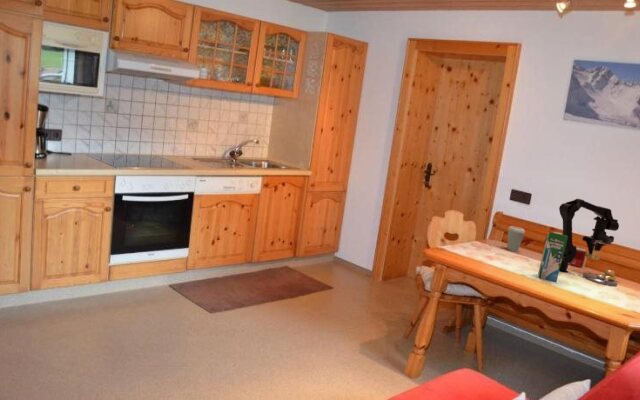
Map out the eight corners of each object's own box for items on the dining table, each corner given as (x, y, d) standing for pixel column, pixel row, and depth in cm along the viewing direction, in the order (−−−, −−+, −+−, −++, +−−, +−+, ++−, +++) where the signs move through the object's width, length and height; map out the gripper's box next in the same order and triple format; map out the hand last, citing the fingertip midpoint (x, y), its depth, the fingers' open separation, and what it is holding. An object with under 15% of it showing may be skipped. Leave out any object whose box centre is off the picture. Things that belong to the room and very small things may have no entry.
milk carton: (555, 278, 306) (566, 233, 302) (556, 282, 297) (568, 235, 294) (537, 274, 309) (548, 229, 305) (538, 277, 300) (549, 231, 297)
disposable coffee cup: (522, 253, 363) (528, 230, 361) (506, 250, 363) (511, 227, 361) (517, 249, 374) (522, 227, 371) (501, 246, 373) (506, 224, 371)
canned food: (583, 268, 351) (587, 251, 349) (569, 265, 352) (574, 248, 350) (580, 265, 358) (584, 249, 356) (567, 262, 359) (571, 246, 358)
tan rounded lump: (593, 259, 330) (595, 251, 329) (582, 255, 336) (584, 247, 336) (601, 260, 334) (603, 251, 333) (590, 256, 340) (592, 248, 339)
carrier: (603, 285, 310) (606, 274, 309) (575, 275, 326) (578, 264, 325) (625, 286, 319) (628, 275, 319) (597, 276, 335) (600, 265, 334)
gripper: (602, 231, 321) (595, 257, 323) (622, 233, 330) (615, 259, 332) (585, 226, 331) (578, 252, 333) (605, 228, 340) (598, 253, 342)
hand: (593, 254), depth 335 cm, fingers closed on tan rounded lump, 5 cm apart
